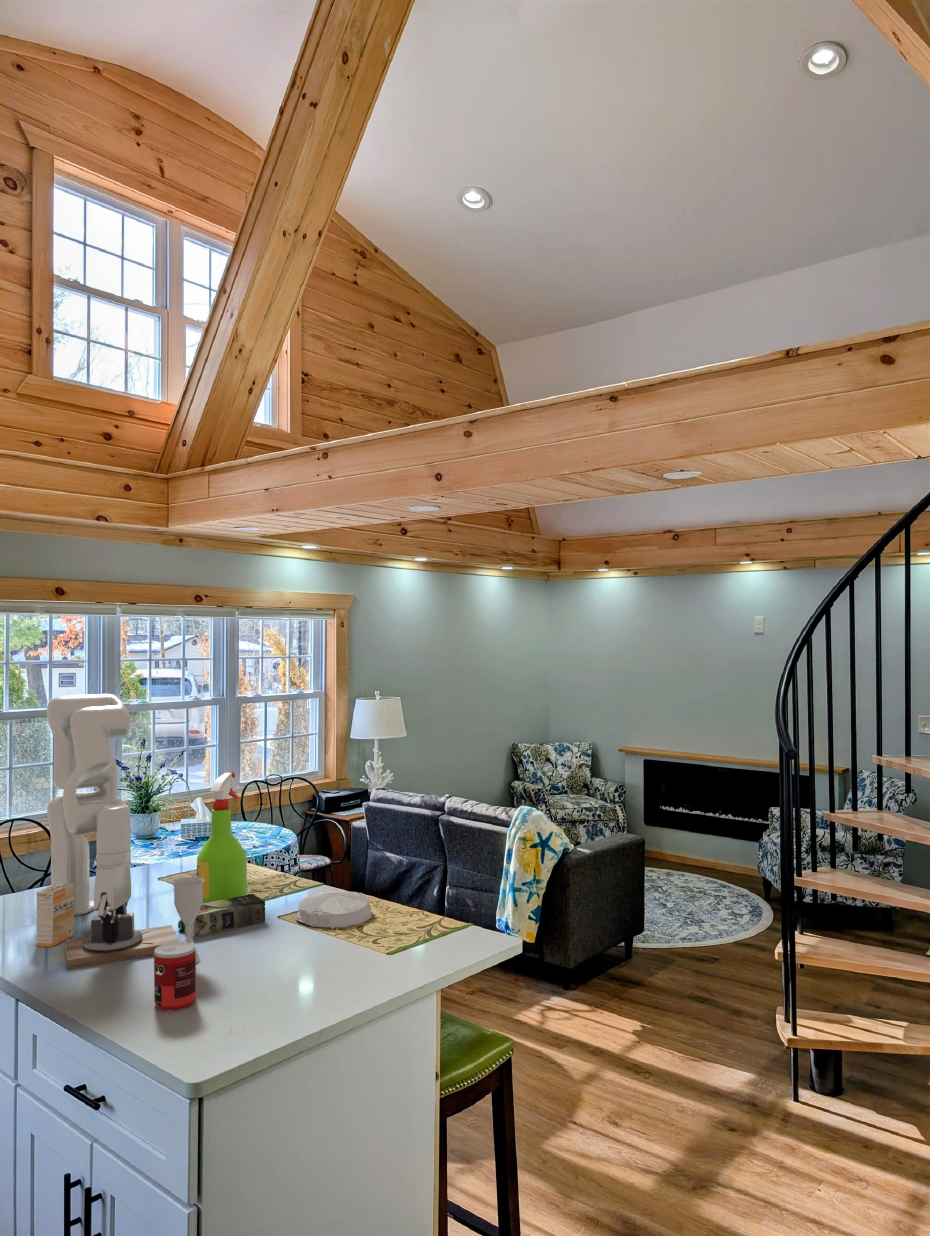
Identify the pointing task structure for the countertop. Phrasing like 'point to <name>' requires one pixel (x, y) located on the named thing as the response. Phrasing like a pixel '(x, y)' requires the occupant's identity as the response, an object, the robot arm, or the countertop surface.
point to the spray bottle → (222, 850)
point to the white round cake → (334, 909)
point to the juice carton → (227, 915)
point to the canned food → (174, 975)
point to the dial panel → (146, 947)
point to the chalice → (188, 902)
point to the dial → (124, 935)
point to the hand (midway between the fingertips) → (114, 935)
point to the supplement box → (55, 914)
